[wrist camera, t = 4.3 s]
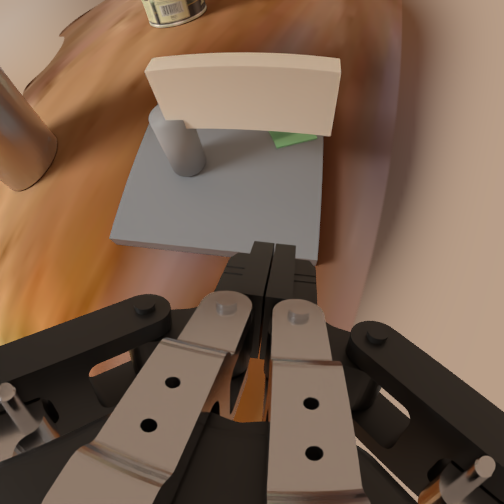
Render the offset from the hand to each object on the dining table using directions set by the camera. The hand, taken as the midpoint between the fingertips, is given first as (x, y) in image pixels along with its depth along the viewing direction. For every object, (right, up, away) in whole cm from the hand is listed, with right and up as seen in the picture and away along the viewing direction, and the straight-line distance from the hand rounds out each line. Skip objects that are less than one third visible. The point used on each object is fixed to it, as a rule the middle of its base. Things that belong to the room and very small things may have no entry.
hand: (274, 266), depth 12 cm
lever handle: (-1, +8, +16) cm, 18 cm away
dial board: (-3, +9, +18) cm, 20 cm away
